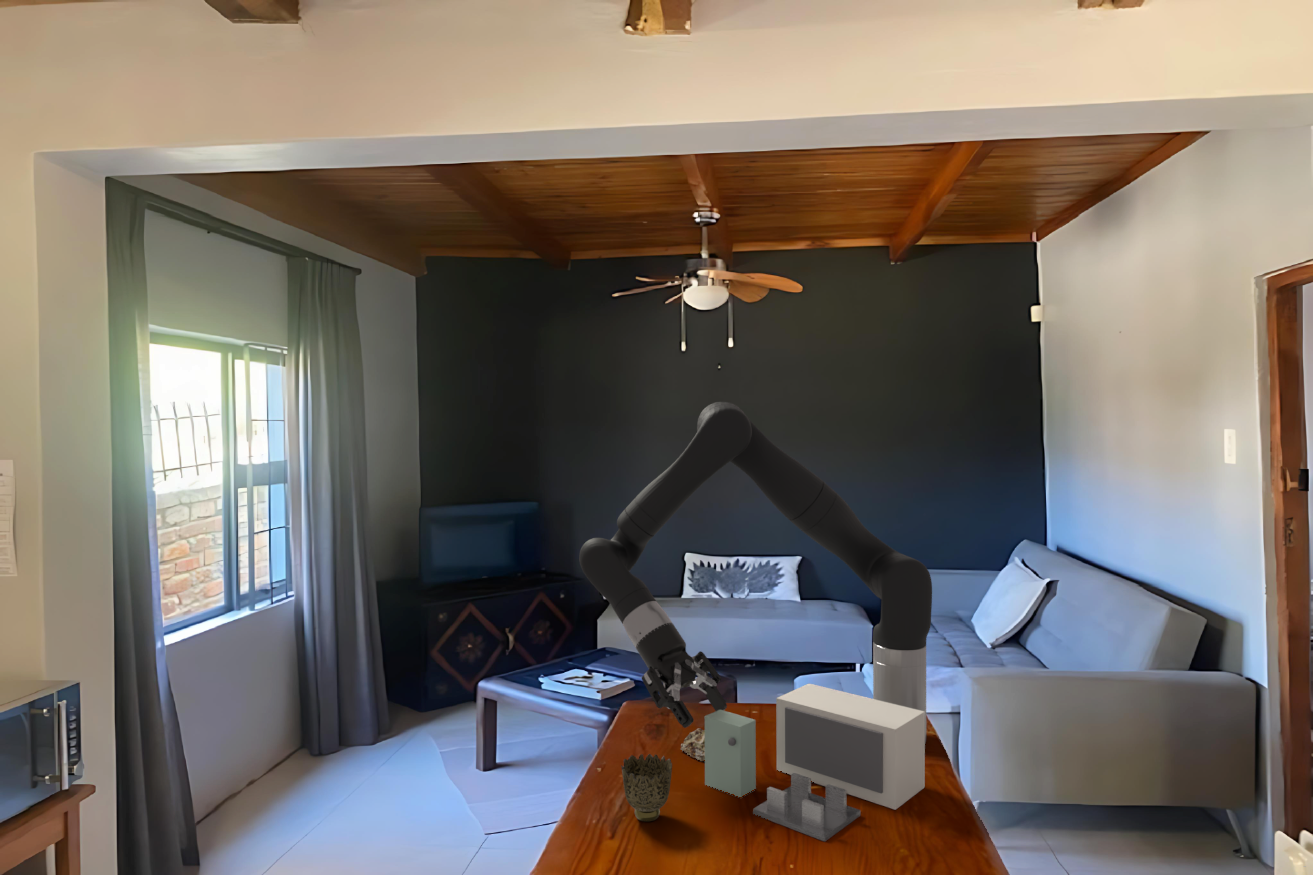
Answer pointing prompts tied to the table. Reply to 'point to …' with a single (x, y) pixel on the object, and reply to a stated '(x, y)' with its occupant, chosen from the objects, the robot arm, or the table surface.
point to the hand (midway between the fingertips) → (706, 717)
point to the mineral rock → (695, 744)
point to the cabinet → (852, 743)
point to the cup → (647, 784)
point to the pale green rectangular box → (730, 752)
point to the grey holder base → (808, 808)
